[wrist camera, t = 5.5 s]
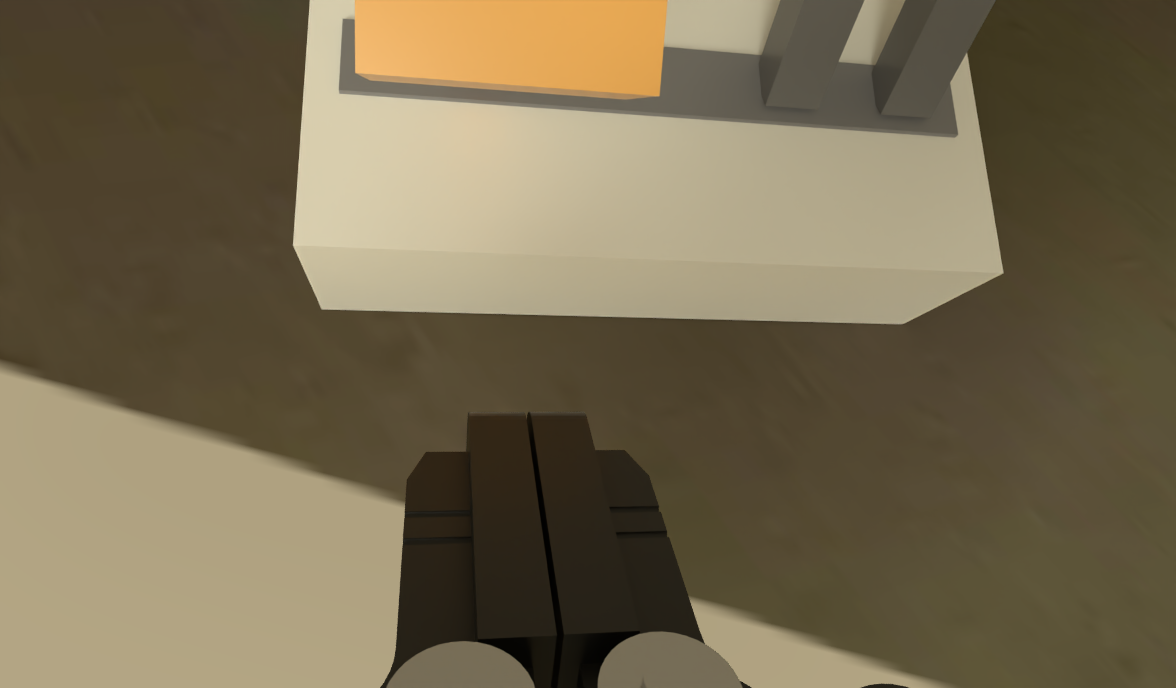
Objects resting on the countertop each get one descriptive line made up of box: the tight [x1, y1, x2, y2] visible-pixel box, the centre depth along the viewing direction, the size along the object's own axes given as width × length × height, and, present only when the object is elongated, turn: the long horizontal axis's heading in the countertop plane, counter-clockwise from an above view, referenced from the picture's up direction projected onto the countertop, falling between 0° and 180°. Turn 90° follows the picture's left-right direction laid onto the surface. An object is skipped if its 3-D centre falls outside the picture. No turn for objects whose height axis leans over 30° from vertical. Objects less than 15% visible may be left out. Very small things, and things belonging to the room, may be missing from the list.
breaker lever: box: [355, 0, 668, 100], centre depth 18 cm, size 4×3×13 cm, turn 91°
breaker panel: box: [293, 0, 1003, 324], centre depth 26 cm, size 22×12×12 cm, turn 92°
